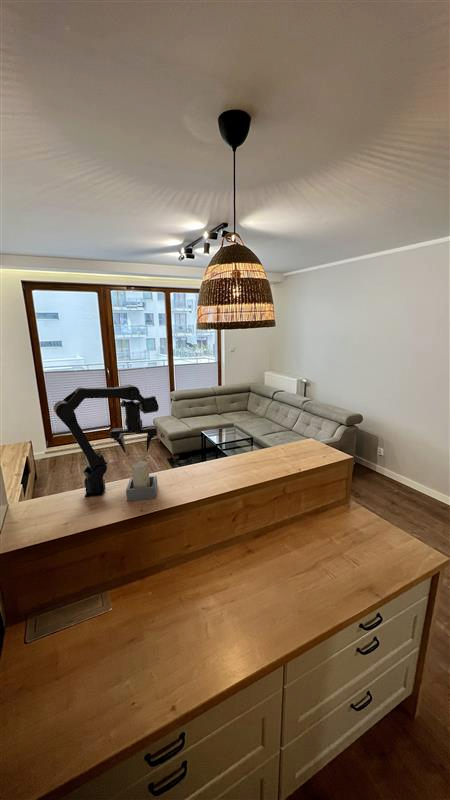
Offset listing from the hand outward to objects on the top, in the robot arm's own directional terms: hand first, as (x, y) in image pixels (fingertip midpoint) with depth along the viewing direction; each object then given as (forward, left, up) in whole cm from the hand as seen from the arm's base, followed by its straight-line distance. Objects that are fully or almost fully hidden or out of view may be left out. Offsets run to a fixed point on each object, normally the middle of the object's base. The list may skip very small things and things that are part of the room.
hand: (136, 451), depth 135 cm
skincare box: (+3, -12, -13) cm, 18 cm away
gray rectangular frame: (+3, -12, -13) cm, 18 cm away
